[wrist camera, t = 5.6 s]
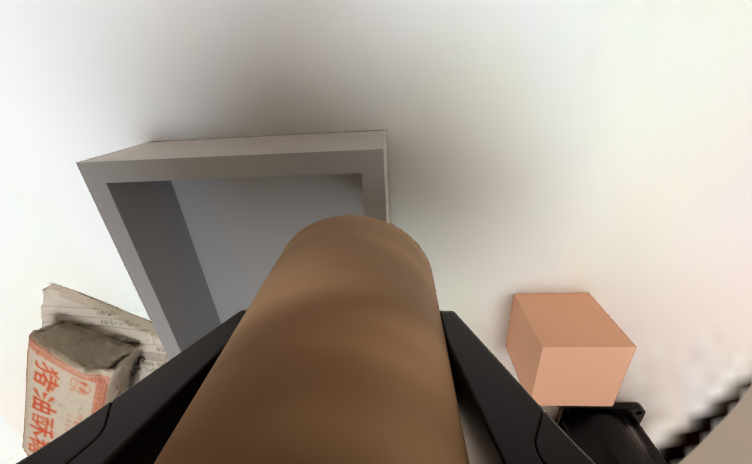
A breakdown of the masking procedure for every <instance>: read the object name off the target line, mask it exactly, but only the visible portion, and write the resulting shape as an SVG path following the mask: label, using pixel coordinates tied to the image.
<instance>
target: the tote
mask: <svg viewBox="0 0 752 464" xmlns="http://www.w3.org/2000/svg"><path fill="white" fill-rule="evenodd" d="M76 164H77V166H78V168H79V170H80V172H81V174H82V176H83V178H84V181H85V183H86V185H87V187H88V189H89V191H90V193H91V195H92V197H93V200H94V202H95V204H96V206H97V208H98V210H99V212H100V214H101V216H102V219H103V221H104V223H105V225H106V227H107V229H108V231H109V233H110V235H111V238H112V240H113V242H114V244H115V246H116V248H117V250H118V252H119V254H120V257H121V259H122V261H123V263H124V265H125V267H126V269H127V271H128V273H129V276H130V278H131V280H132V282H133V284H134V286H135V288H136V290H137V292H138V295H139V297H140V299H141V301H142V303H143V305H144V307H145V309H146V311H147V314H148V316H149V318H150V320H151V322H152V324H153V326H154V328H155V330H156V333H157V335H158V337H159V339H160V341H161V343H162V345H163V347H164V350H165V352H166V354H167V356H168V358H169V360H170V359H172V358H173V357H175V356H176V355H178V354H179V353H181V352H182V351H183V350H185V349H186V348H188V347H189V346H191V345H192V344H193V343H195V342H196V341H198V340H199V339H201V338H202V337H203V336H205V335H206V334H208V333H209V332H211V331H212V330H213V329H215V328H216V327H218V326H219V325H221V324H222V323H223V322H225V321H226V320H228V319H229V318H231V317H232V316H234V315H235V314H236V313H238V312H239V311H241V310H247V309H248V308H249V306H250V304H251V303H252V301H253V299H254V298H255V296H256V295H257V293H258V291H259V290H260V288H261V286H262V285H263V283H264V281H265V280H266V278H267V276H268V275H269V273H270V272H271V270H272V268H273V267H274V265H275V263H276V262H277V260H278V258H279V257H280V255H281V253H282V252H283V250H284V249H285V247H286V245H287V244H288V243H289V242H290V240H291V239H292V238H293V237H294V236H295V235H296V234H297V233H298V232H299V231H301V230H302V229H304V228H305V227H307V226H308V225H311V224H313V223H315V222H317V221H319V220H322V219H325V218H329V217H334V216H341V215H361V216H367V217H372V218H376V219H379V220H383V221H385V222H387V223H390V206H389V181H388V156H387V131H386V130H376V131H355V132H335V133H314V134H294V135H274V136H253V137H233V138H213V139H192V140H172V141H152V142H148V143H144V144H141V145H137V146H133V147H130V148H126V149H123V150H119V151H116V152H112V153H109V154H105V155H102V156H98V157H94V158H91V159H87V160H84V161H80V162H77V163H76Z"/></svg>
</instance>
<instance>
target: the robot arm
mask: <svg viewBox="0 0 752 464" xmlns="http://www.w3.org/2000/svg"><path fill="white" fill-rule="evenodd" d="M246 311H247V310H241V311H239V312H238V313H236V314H235V315H234V316H232V317H231V318H229V319H228V320H226V321H225V322H223V323H222V324H221V325H219V326H218V327H216V328H215V329H213V330H212V331H211V332H209V333H208V334H206V335H205V336H203V337H202V338H201V339H199V340H198V341H196V342H195V343H193V344H192V345H191V346H189V347H188V348H186V349H185V350H183V351H182V352H181V353H179V354H178V355H176V356H175V357H173V358H172V359H170V360H169V361H168V362H166V363H165V364H163V365H162V366H160V367H159V368H158V369H156V370H155V371H153V372H152V373H150V374H149V375H148V376H146V377H145V378H143V379H142V380H140V381H139V382H138V383H136V384H135V385H133V386H132V387H130V388H129V389H127V390H126V391H125V392H123V393H122V394H120V395H119V396H117V397H116V398H115V399H113V401H112V402H109V403H107V404H106V405H104V406H103V407H102V408H100V409H99V410H97V411H96V412H94V413H93V414H92V415H90V416H89V417H87V418H86V419H84V420H83V421H81V422H80V423H78V424H77V425H75V426H74V427H72V428H71V429H69V430H68V431H66V432H65V433H63V434H62V435H60V436H59V437H57V438H56V439H54V440H53V441H51V442H50V443H48V444H46V445H45V446H43V447H42V448H40V449H39V450H37V451H35V452H34V453H32V454H31V455H29V456H28V457H26V458H24V459H23V460H21V461H20V462H18V463H16V464H154V462H155V461H156V459H157V457H158V456H159V454H160V452H161V451H162V449H163V447H164V446H165V444H166V443H167V441H168V439H169V438H170V436H171V434H172V433H173V431H174V429H175V428H176V426H177V424H178V423H179V421H180V420H181V418H182V416H183V415H184V413H185V411H186V410H187V408H188V406H189V405H190V403H191V401H192V400H193V398H194V397H195V395H196V393H197V392H198V390H199V388H200V387H201V385H202V383H203V382H204V380H205V378H206V377H207V375H208V373H209V372H210V370H211V369H212V367H213V365H214V364H215V362H216V360H217V359H218V357H219V355H220V354H221V352H222V350H223V349H224V347H225V346H226V344H227V342H228V341H229V339H230V337H231V336H232V334H233V332H234V331H235V329H236V327H237V326H238V324H239V323H240V321H241V319H242V318H243V316H244V314H245V313H246ZM440 316H441V321H442V326H443V331H444V336H445V341H446V346H447V351H448V357H449V362H450V367H451V372H452V377H453V382H454V387H455V392H456V397H457V403H458V408H459V413H460V418H461V423H462V428H463V433H464V438H465V443H466V449H467V454H468V459H469V464H667V463H666V461H665V460H664V458H663V457H662V456H661V454H660V453H659V451H658V450H657V448H656V447H655V445H654V444H653V443H652V441H651V440H650V438H649V437H648V435H647V434H646V432H645V431H644V430H643V428H642V427H641V425H640V423H641V420H642V418H643V416H644V414H645V410H644V409H643V407H642V406H641V405H637V404H613V406H561V407H560V410H559V413H558V417H557V420H556V423H555V422H554V421H553V419H552V418H551V417H550V416H549V415H548V414H547V413H546V412H543V409H542V408H541V406H540V405H539V404H538V403H537V402H536V401H535V400H534V399H533V398H532V397H531V395H530V394H529V393H528V392H527V391H526V390H525V389H524V388H523V387H522V386H521V384H520V383H519V382H518V381H517V380H516V379H515V378H514V377H513V376H512V375H511V374H510V372H509V371H508V370H507V369H506V368H505V367H504V366H503V365H502V364H501V363H500V361H499V360H498V359H497V358H496V357H495V356H494V355H493V354H492V353H491V352H490V350H489V349H488V348H487V347H486V346H485V345H484V344H483V343H482V342H481V341H480V339H479V338H478V337H477V336H476V335H475V334H474V333H473V332H472V331H471V330H470V328H469V327H468V326H467V325H466V324H465V323H464V322H463V321H462V320H461V319H460V318H459V316H458V315H457V314H456V313H455V312H453V311H440Z"/></svg>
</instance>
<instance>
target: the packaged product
mask: <svg viewBox="0 0 752 464" xmlns="http://www.w3.org/2000/svg"><path fill="white" fill-rule="evenodd" d="M43 294H44V301H43V304H42V306H41V310H42V328H41V329H39V330H33V332H32V333H31V334H30V335H29V344H28V352H27V370H26V401H25V419H24V434H23V445H22V447H23V449H24V451H25V452H26V453H27V455H28V456H29V455H31V454H32V453H34V452H35V451H37V450H39V449H40V448H42V447H43V446H45V445H46V444H48V443H50V442H51V441H53V440H54V439H56V438H57V437H59V436H60V435H62V434H63V433H65V432H66V431H68V430H69V429H71V428H72V427H74V426H75V425H77V424H78V423H80V422H81V421H83V420H84V419H86V418H87V417H89V416H90V415H92V414H93V413H94V412H96V411H97V410H99V409H100V408H102V407H103V406H104V405H106V404H107V403H109V402H112V401H113V399H115V398H116V397H117V396H119V395H120V394H122V393H123V392H125V391H126V390H127V389H129V388H130V387H132V386H133V385H135V384H136V383H138V382H139V381H140V380H142V379H143V378H145V377H146V376H148V375H149V374H150V373H152V372H153V371H155V370H156V369H158V368H159V367H160V366H162V365H163V364H165V363H166V362H168V361H169V358H168V356H167V354H166V352H165V350H164V347H163V345H162V343H161V341H160V339H159V337H158V335H157V333H156V330H155V328H154V326H153V324H152V322H150V321H147V320H145V319H142V318H140V317H138V316H135V315H133V314H130V313H128V312H126V311H123V310H121V309H118V308H116V307H113V306H111V305H108V304H105V303H103V302H100V301H98V300H95V299H93V298H90V297H87V296H85V295H82V294H80V293H78V292H76V291H74V290H71V289H68V288H65V287H62V286H59V285H56V284H53V285H51V286H49V287H46V288H44V289H43Z"/></svg>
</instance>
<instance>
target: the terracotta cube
mask: <svg viewBox="0 0 752 464" xmlns="http://www.w3.org/2000/svg"><path fill="white" fill-rule="evenodd" d="M506 348H507V351H508V353H509V356H510V358H511V361H512V363H513V366H514V368H515V371H516V373H517V376H518V378H519V381H520V383H521V385H522V387H523V388H524V389H525V390H526V391H527V392H528V393H529V394H530V395H531V397H532V398H533V399H534V400H535V401H536V402H537V403H538V404H539V405H540V406H613V404H614V401H615V399H616V397H617V394H618V392H619V389H620V387H621V384H622V382H623V379H624V377H625V374H626V372H627V369H628V367H629V364H630V362H631V359H632V357H633V354H634V352H635V349H636V346H635V345H634V344H633V342H632V341H631V340H630V339H629V338H628V337H627V336H626V335H625V333H624V332H623V331H622V330H621V329H620V328H619V327H618V325H617V324H616V323H615V322H614V321H613V320H612V319H611V318H610V316H609V315H608V314H607V313H606V312H605V311H604V310H603V308H602V307H601V306H600V305H599V304H598V303H597V302H596V300H595V299H594V298H593V297H592V296H591V295H590V294H589V293H527V294H514V297H513V303H512V309H511V316H510V322H509V328H508V334H507V341H506Z"/></svg>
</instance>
